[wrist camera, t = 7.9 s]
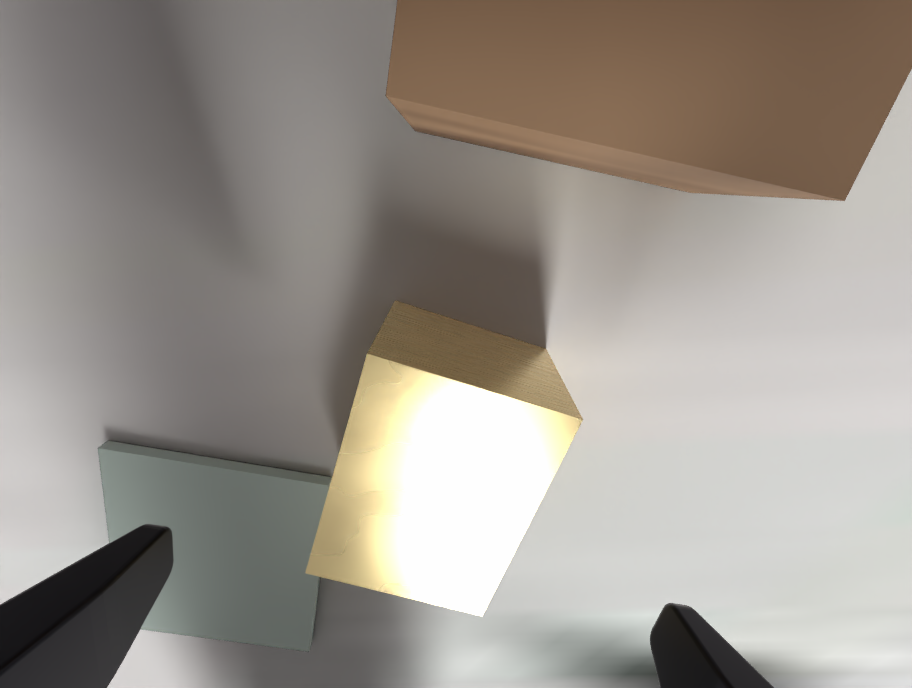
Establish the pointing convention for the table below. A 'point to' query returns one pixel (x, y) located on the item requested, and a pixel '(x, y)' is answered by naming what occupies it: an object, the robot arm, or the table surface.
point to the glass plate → (222, 541)
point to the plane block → (661, 86)
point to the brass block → (442, 461)
